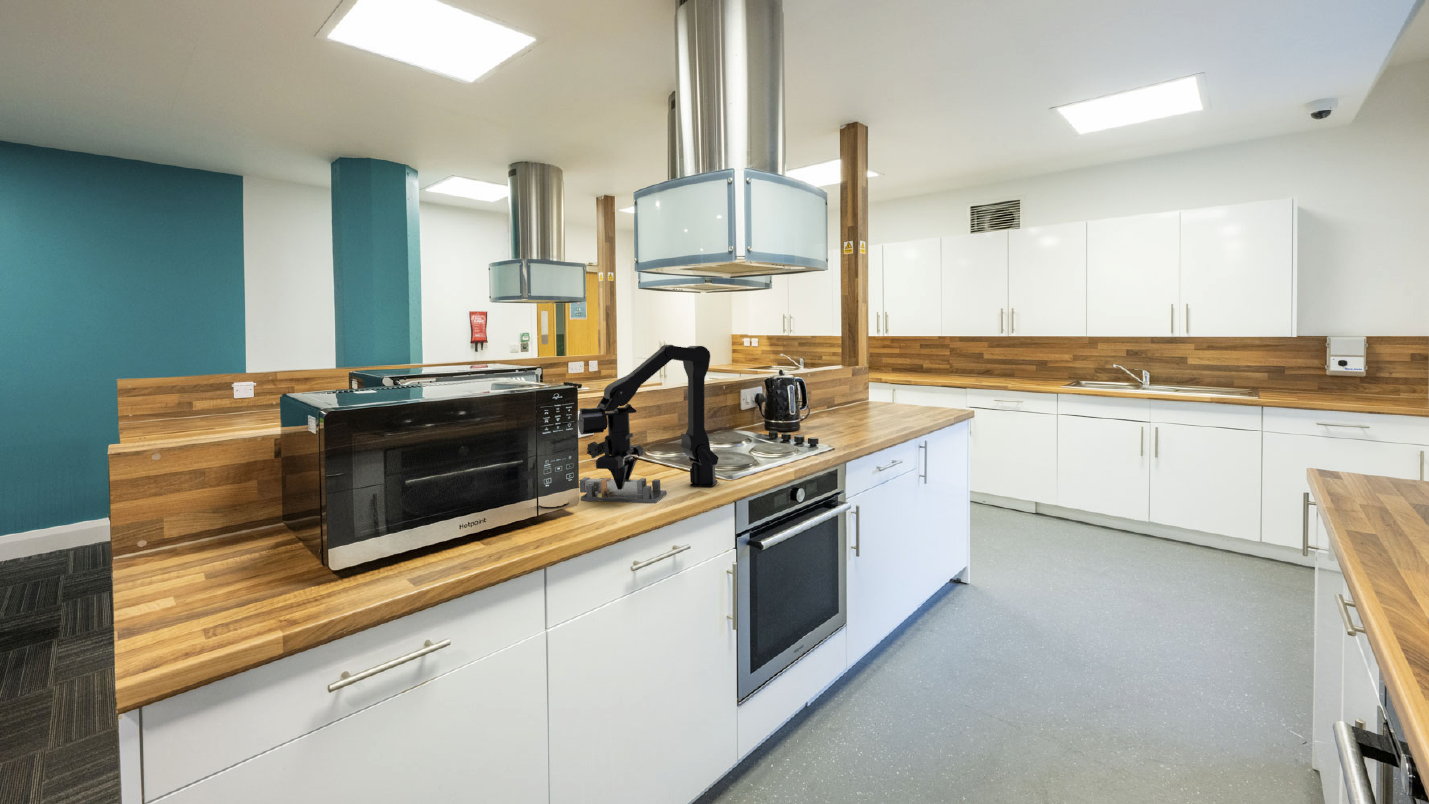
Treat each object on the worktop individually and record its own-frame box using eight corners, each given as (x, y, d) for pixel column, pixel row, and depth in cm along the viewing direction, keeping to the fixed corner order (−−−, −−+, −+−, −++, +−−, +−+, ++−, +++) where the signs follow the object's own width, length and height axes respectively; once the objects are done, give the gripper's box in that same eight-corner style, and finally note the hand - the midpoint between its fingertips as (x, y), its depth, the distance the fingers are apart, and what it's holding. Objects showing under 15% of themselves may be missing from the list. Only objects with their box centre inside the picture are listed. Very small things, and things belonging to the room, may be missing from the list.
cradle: (666, 494, 163) (665, 479, 163) (655, 503, 154) (654, 488, 154) (595, 491, 168) (594, 477, 168) (581, 500, 159) (580, 485, 159)
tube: (646, 490, 161) (646, 478, 161) (642, 493, 158) (641, 481, 158) (585, 489, 166) (584, 477, 165) (580, 492, 162) (579, 480, 162)
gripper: (605, 425, 170) (608, 478, 172) (575, 436, 152) (578, 496, 154) (642, 425, 168) (645, 479, 169) (615, 436, 150) (619, 497, 151)
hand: (622, 487), depth 161 cm, fingers closed on tube, 3 cm apart
